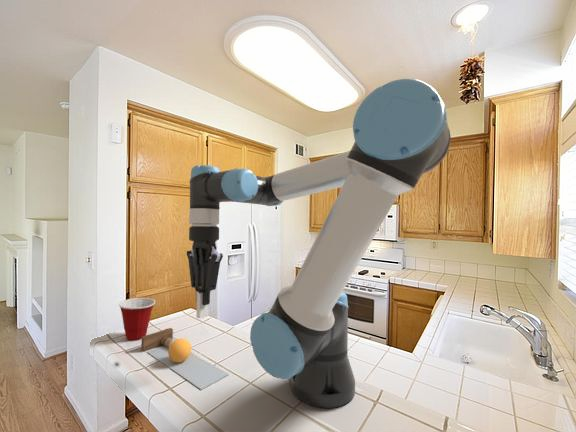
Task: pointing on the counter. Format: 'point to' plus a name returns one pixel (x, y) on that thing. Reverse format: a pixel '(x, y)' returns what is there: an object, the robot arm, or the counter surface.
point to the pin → (167, 341)
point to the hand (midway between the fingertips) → (202, 316)
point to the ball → (179, 350)
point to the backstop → (155, 339)
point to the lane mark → (191, 368)
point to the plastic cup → (136, 317)
